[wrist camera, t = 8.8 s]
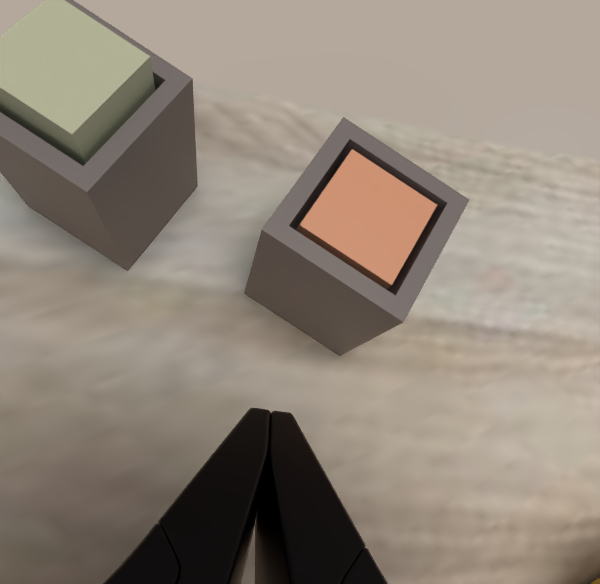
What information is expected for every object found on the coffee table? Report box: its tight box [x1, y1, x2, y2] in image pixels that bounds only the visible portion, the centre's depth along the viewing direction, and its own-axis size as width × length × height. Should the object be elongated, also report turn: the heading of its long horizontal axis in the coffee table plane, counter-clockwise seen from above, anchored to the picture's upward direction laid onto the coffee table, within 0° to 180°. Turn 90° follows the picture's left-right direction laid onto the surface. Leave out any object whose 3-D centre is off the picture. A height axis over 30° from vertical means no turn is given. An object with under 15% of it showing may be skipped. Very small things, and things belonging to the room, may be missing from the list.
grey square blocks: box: [0, 0, 469, 355], centre depth 19 cm, size 22×19×8 cm
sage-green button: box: [0, 0, 156, 166], centre depth 16 cm, size 4×4×2 cm
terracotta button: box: [297, 149, 437, 289], centre depth 18 cm, size 4×4×2 cm
